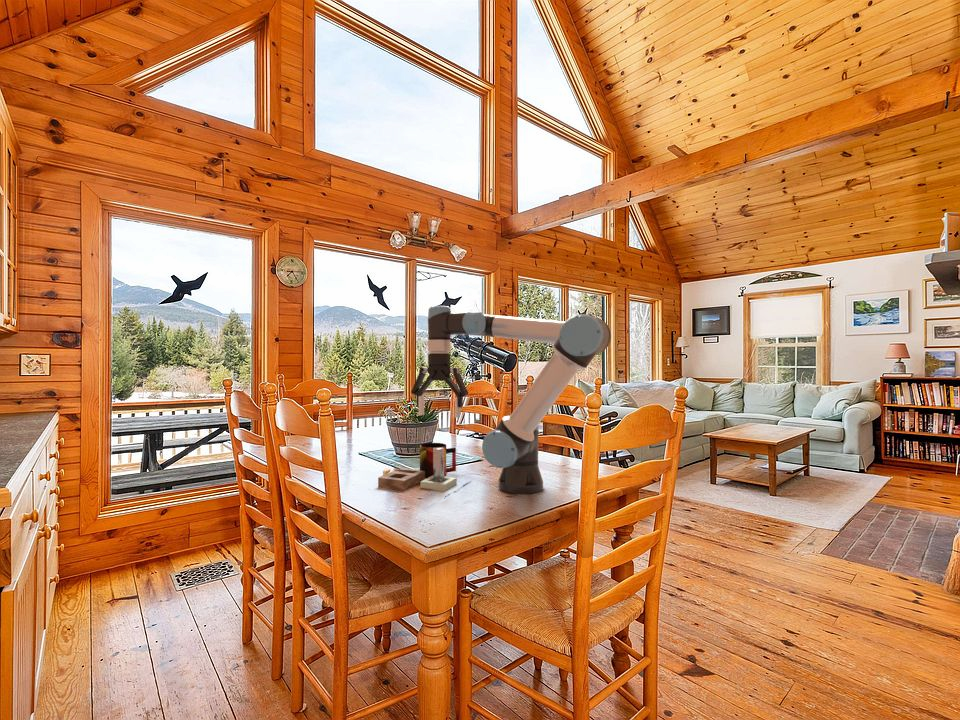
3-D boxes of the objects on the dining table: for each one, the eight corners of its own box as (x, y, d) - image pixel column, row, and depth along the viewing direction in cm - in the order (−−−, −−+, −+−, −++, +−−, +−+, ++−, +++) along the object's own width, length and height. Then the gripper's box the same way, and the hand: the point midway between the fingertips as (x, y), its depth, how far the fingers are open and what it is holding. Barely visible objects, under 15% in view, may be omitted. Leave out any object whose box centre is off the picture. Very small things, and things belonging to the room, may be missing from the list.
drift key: (411, 481, 171) (411, 471, 171) (407, 483, 169) (407, 473, 169) (387, 478, 175) (387, 468, 175) (383, 480, 172) (383, 470, 172)
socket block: (425, 482, 171) (425, 470, 171) (404, 493, 158) (404, 480, 158) (400, 479, 175) (400, 468, 175) (378, 489, 162) (378, 477, 162)
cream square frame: (456, 486, 166) (456, 477, 166) (444, 493, 157) (444, 484, 157) (433, 483, 169) (433, 475, 169) (420, 490, 161) (420, 481, 161)
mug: (456, 473, 183) (456, 442, 183) (437, 482, 170) (437, 448, 170) (434, 471, 187) (434, 440, 187) (414, 479, 175) (414, 446, 174)
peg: (446, 486, 164) (445, 447, 164) (441, 489, 161) (441, 450, 161) (436, 485, 166) (436, 447, 165) (431, 487, 162) (431, 449, 162)
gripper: (478, 352, 161) (477, 416, 161) (412, 352, 171) (412, 412, 171) (468, 353, 154) (468, 419, 155) (401, 352, 164) (401, 415, 164)
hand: (439, 416), depth 163 cm, fingers open, 13 cm apart
